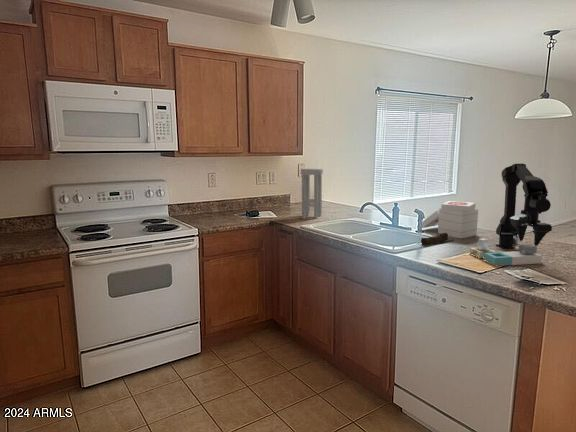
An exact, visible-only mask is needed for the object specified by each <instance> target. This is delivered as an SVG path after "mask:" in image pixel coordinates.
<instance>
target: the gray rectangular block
mask: <svg viewBox="0 0 576 432" xmlns="http://www.w3.org/2000/svg"><path fill="white" fill-rule="evenodd" d="M537 249H538V247H537V246H535V245H534V244H519V245H518V252H521V253H523V254H525V255H531V254H533V253H537Z"/></svg>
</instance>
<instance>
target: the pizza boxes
mask: <svg viewBox="0 0 576 432" xmlns="http://www.w3.org/2000/svg"><path fill="white" fill-rule="evenodd" d="M476 203H477V202H468V201H453V200H447V201H445V202H443V203H441V206H440V207H441V208H438V210H436V211H434V212H433V213H431V215H429V216H428V217H427V218H425V219H424V220H422V222H423V223H422V226H421V228H422V229H424V228H430V227H435V226H437V227H438V228H437V234H438V233H439V234H441V233H447V234H448V237H451V236H452V237H453V238H457V239H463V238H470V237H473V236H477V234H478V233H477V231H478V219H479V209H478V208H476ZM439 234H438V235H439ZM452 237H451V238H452Z"/></svg>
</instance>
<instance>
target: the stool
mask: <svg viewBox="0 0 576 432" xmlns="http://www.w3.org/2000/svg"><path fill="white" fill-rule="evenodd" d="M300 175H301V218H302V219H303V218H304V219H305V218H306V217H307V216H310V214H311V207H312V208H313V214H314V215H313V216H314V217H313V218H314V219H319V217H322V214H323V213H322V196H323V195H322V192H323V191H322V187H323V185H322V181H323V180H322V177H323V176H322V175H324V168H322V167H302V168H300ZM310 176H313V198H311V197H310V196H311V195H310V194H311V193H310V190H311V189H310V184H311V183H310V181H311V180H310V179H311V178H310Z"/></svg>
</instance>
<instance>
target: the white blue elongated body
mask: <svg viewBox="0 0 576 432" xmlns="http://www.w3.org/2000/svg"><path fill="white" fill-rule="evenodd" d="M517 240H518V238H517V236H514V237H513V245H516V244H517Z"/></svg>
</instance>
